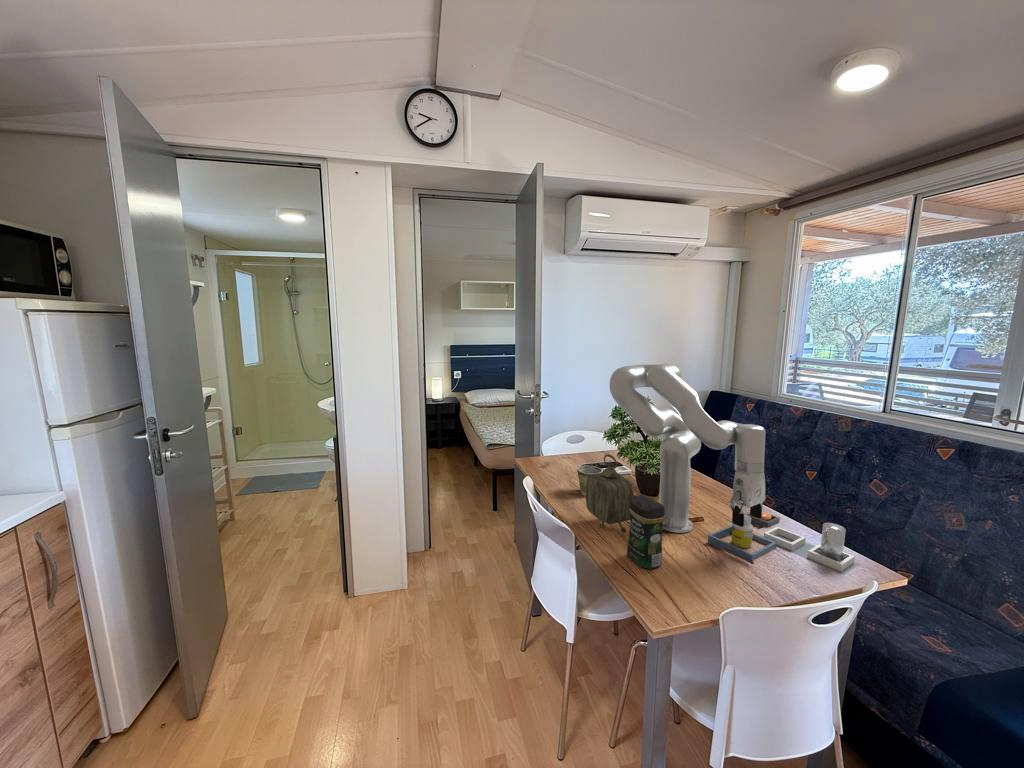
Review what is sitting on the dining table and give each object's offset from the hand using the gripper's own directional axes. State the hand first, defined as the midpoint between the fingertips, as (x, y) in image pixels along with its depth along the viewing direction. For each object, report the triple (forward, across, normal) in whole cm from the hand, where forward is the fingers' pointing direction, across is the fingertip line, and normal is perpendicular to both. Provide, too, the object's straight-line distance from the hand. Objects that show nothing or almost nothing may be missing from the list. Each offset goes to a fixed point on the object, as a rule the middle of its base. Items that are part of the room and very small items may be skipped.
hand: (746, 520), depth 120 cm
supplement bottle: (+9, 0, +1) cm, 9 cm away
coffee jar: (+8, -32, +11) cm, 35 cm away
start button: (+7, +22, +6) cm, 24 cm away
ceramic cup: (+7, -11, +56) cm, 58 cm away
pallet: (+9, +13, -11) cm, 19 cm away
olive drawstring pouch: (+7, -27, +31) cm, 42 cm away
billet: (+8, +13, -17) cm, 23 cm away
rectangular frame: (+9, 0, +1) cm, 9 cm away
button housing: (+9, +22, +6) cm, 24 cm away
